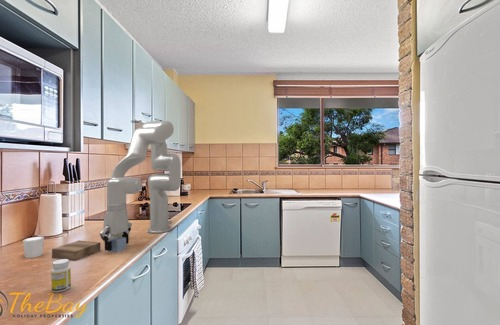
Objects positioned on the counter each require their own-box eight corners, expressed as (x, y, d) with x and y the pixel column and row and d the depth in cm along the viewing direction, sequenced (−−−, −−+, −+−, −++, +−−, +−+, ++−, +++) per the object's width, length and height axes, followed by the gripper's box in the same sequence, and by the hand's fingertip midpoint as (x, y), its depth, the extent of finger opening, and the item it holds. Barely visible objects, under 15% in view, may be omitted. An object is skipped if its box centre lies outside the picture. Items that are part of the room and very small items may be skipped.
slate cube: (116, 247, 120) (116, 236, 120) (126, 248, 119) (126, 237, 119) (107, 251, 115) (107, 239, 115) (117, 252, 114) (117, 240, 114)
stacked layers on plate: (114, 244, 125) (114, 232, 125) (99, 242, 129) (99, 231, 128) (130, 238, 135) (130, 227, 135) (116, 237, 138) (116, 226, 138)
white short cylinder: (27, 254, 113) (26, 237, 113) (46, 251, 115) (46, 235, 115) (19, 259, 106) (19, 241, 106) (40, 257, 109) (40, 239, 109)
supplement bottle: (62, 284, 84) (62, 257, 84) (74, 286, 83) (74, 259, 83) (47, 291, 80) (47, 263, 80) (59, 293, 78) (59, 265, 78)
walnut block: (78, 249, 119) (78, 240, 119) (100, 251, 116) (100, 242, 116) (52, 259, 108) (51, 249, 108) (75, 261, 104) (75, 251, 104)
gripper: (124, 204, 126) (124, 240, 126) (93, 210, 110) (93, 252, 110) (137, 204, 124) (138, 241, 124) (107, 211, 107) (108, 254, 108)
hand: (117, 246), depth 117 cm, fingers open, 9 cm apart
